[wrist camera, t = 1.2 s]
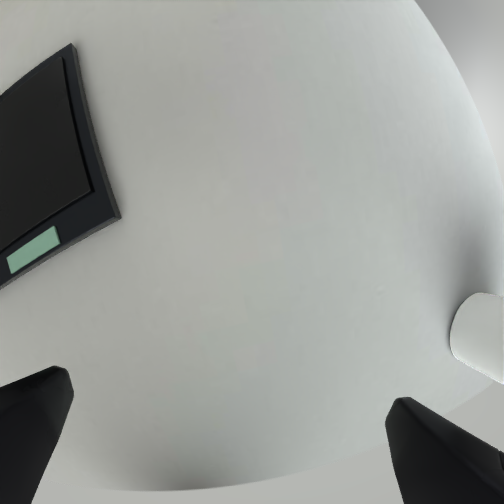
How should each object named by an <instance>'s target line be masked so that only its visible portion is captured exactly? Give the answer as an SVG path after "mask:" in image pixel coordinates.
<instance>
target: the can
mask: <svg viewBox="0 0 504 504" xmlns="http://www.w3.org/2000/svg"><path fill="white" fill-rule="evenodd" d="M450 346H451V350H452V353H453V355H454V356H455V358H456V359H458V360H459V361H461V362H463V363H464V364H466V365H468V366H470V367H472V368H473V369H475V370H477V371H479V372H481V373H483V374H484V375H486V376H488V377H490V378H492V379H494V380H495V381H497V382H499V383H501V384H503V385H504V297H503V296H498V295H493V294H487V293H476V294H473V295H471V296H470V297H469V298H467V299H466V300H465V301H464V302H463V303H462V304H461V306H460V307H459V308H458V310H457V312H456V314H455V316H454V319H453V322H452V325H451V330H450Z"/></svg>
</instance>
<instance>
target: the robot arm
mask: <svg viewBox="0 0 504 504" xmlns="http://www.w3.org/2000/svg"><path fill="white" fill-rule="evenodd" d="M73 397H74V391H73V387H72V383H71V380H70V376H69V373H68V371H67V370H66V369H65V368H62V367H59V366H51V367H49V368H47V369H44V370H42V371H39V372H37V373H35V374H32V375H30V376H27V377H25V378H22V379H20V380H17V381H15V382H12V383H10V384H7V385H5V386H2V387H0V504H31V503H32V500H33V497H34V495H35V493H36V490H37V488H38V485H39V483H40V480H41V478H42V476H43V473H44V471H45V469H46V467H47V464H48V462H49V460H50V458H51V455H52V453H53V451H54V449H55V447H56V444H57V442H58V440H59V437H60V435H61V432H62V429H63V426H64V423H65V420H66V417H67V414H68V412H69V409H70V406H71V404H72V401H73ZM385 427H386V432H387V437H388V442H389V447H390V452H391V458H392V463H393V467H394V471H395V475H396V478H397V481H398V485H399V488H400V491H401V495H402V498H403V502H404V504H504V453H503V452H502V451H499V450H498V449H496V448H495V447H493V446H491V445H489V444H488V443H486V442H484V441H482V440H480V439H479V438H477V437H475V436H474V435H472V434H470V433H469V432H467V431H465V430H463V429H462V428H460V427H458V426H456V425H455V424H453V423H452V422H450V421H448V420H446V419H445V418H443V417H442V416H440V415H438V414H437V413H435V412H433V411H432V410H430V409H429V408H427V407H425V406H424V405H422V404H420V403H419V402H417V401H416V400H414V399H412V398H411V397H402V398H397V399H396V400H395V401H394V403H393V405H392V407H391V409H390V411H389V413H388V415H387V417H386V421H385Z"/></svg>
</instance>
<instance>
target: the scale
mask: <svg viewBox="0 0 504 504" xmlns="http://www.w3.org/2000/svg"><path fill="white" fill-rule="evenodd" d="M120 219H121V215H120V212H119V210H118V207H117V204H116V201H115V198H114V195H113V192H112V189H111V186H110V183H109V180H108V177H107V174H106V170H105V167H104V164H103V161H102V157H101V154H100V150H99V147H98V143H97V140H96V136H95V132H94V129H93V125H92V121H91V117H90V113H89V109H88V105H87V100H86V96H85V92H84V87H83V82H82V77H81V72H80V67H79V62H78V56H77V51H76V48H75V47H74V46H73V45H72V43H70V44H69V45H67V46H66V47H64V48H62V49H61V50H59V51H58V52H56V53H55V54H53V55H52V56H50V57H49V58H48V59H46V60H45V61H43V62H42V63H40V64H39V65H38V66H36V67H35V68H34V69H32V70H31V71H30V72H28V73H27V74H26V75H24V76H23V77H22V78H21V79H19V80H18V81H17V82H16V83H14V84H13V85H12V86H11V87H10V88H8V89H7V90H6V91H5V92H4V93H3V94H2V95H0V290H1V289H2V288H4V287H5V286H7V285H8V284H10V283H11V282H13V281H14V280H16V279H18V278H19V277H21V276H22V275H24V274H25V273H27V272H29V271H30V270H32V269H33V268H35V267H37V266H38V265H40V264H41V263H43V262H45V261H46V260H48V259H50V258H51V257H53V256H55V255H56V254H58V253H60V252H62V251H63V250H65V249H67V248H69V247H70V246H72V245H74V244H76V243H77V242H79V241H81V240H83V239H84V238H86V237H88V236H90V235H92V234H94V233H95V232H97V231H99V230H101V229H103V228H105V227H107V226H108V225H110V224H112V223H114V222H116V221H118V220H120Z"/></svg>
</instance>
